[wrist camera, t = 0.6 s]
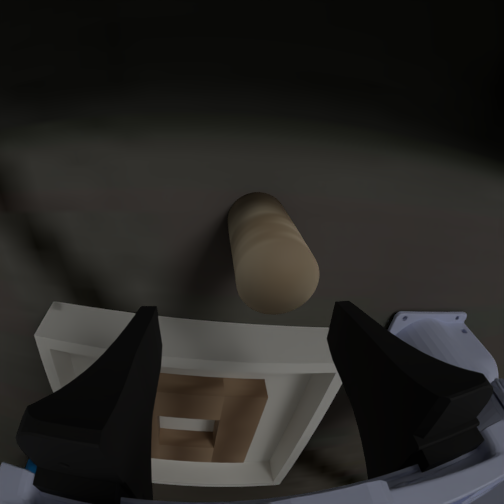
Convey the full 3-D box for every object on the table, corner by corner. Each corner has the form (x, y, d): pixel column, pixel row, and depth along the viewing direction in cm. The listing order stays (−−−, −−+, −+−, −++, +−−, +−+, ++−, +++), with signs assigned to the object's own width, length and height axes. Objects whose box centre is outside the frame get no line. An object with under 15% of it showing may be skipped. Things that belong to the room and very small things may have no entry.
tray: (336, 327, 25) (353, 362, 21) (274, 457, 34) (279, 484, 31) (53, 300, 21) (34, 335, 17) (95, 445, 30) (90, 472, 27)
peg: (291, 196, 20) (328, 247, 13) (278, 249, 21) (307, 316, 15) (232, 188, 19) (244, 237, 13) (223, 243, 20) (230, 311, 14)
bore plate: (264, 379, 25) (268, 397, 23) (241, 447, 30) (243, 462, 29) (116, 366, 23) (112, 385, 21) (129, 439, 28) (127, 455, 26)
